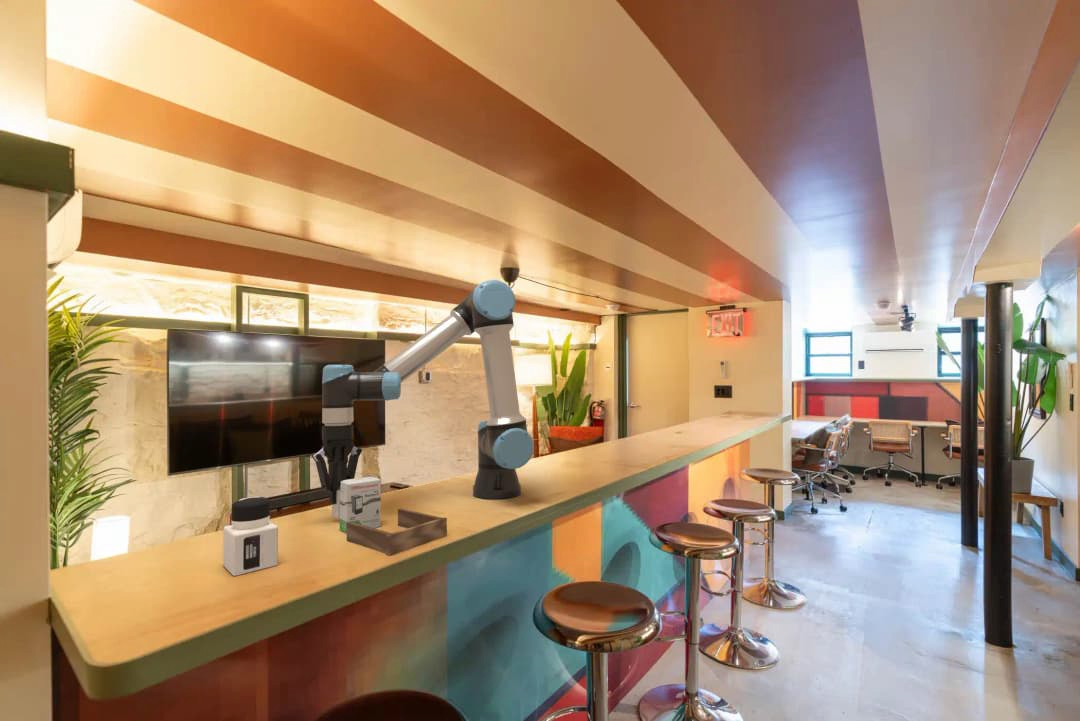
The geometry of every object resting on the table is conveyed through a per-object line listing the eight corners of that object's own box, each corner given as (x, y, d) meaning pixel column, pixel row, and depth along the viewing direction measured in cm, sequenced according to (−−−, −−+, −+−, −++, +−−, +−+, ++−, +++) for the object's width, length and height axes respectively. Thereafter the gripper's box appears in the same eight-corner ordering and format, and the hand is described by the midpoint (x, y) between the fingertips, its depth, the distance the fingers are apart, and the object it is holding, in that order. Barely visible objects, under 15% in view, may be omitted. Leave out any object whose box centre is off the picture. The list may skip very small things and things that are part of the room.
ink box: (346, 534, 116) (346, 483, 116) (338, 529, 120) (339, 480, 120) (381, 526, 121) (381, 478, 122) (373, 522, 125) (373, 475, 126)
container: (278, 565, 96) (279, 498, 97) (233, 577, 91) (234, 506, 91) (265, 555, 102) (266, 492, 102) (222, 566, 96) (223, 499, 97)
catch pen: (402, 524, 123) (402, 507, 124) (446, 535, 114) (446, 517, 114) (344, 541, 111) (344, 523, 111) (388, 555, 101) (388, 536, 101)
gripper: (352, 421, 135) (352, 508, 134) (305, 425, 125) (305, 519, 124) (368, 422, 131) (368, 512, 130) (321, 426, 120) (321, 524, 119)
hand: (337, 515), depth 127 cm, fingers closed
